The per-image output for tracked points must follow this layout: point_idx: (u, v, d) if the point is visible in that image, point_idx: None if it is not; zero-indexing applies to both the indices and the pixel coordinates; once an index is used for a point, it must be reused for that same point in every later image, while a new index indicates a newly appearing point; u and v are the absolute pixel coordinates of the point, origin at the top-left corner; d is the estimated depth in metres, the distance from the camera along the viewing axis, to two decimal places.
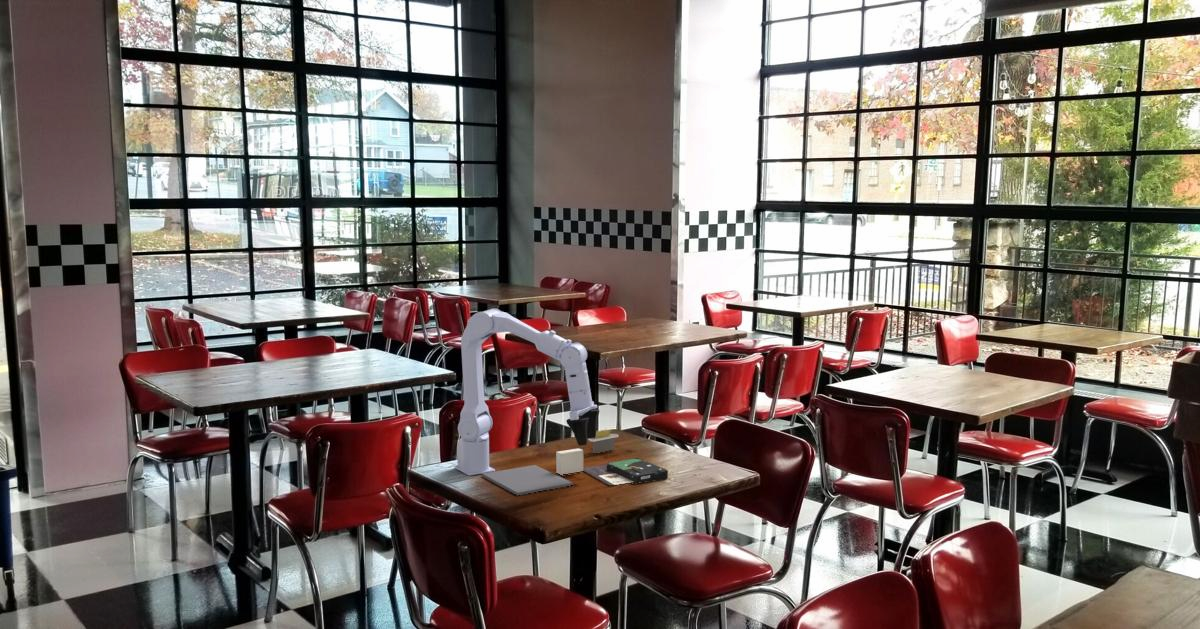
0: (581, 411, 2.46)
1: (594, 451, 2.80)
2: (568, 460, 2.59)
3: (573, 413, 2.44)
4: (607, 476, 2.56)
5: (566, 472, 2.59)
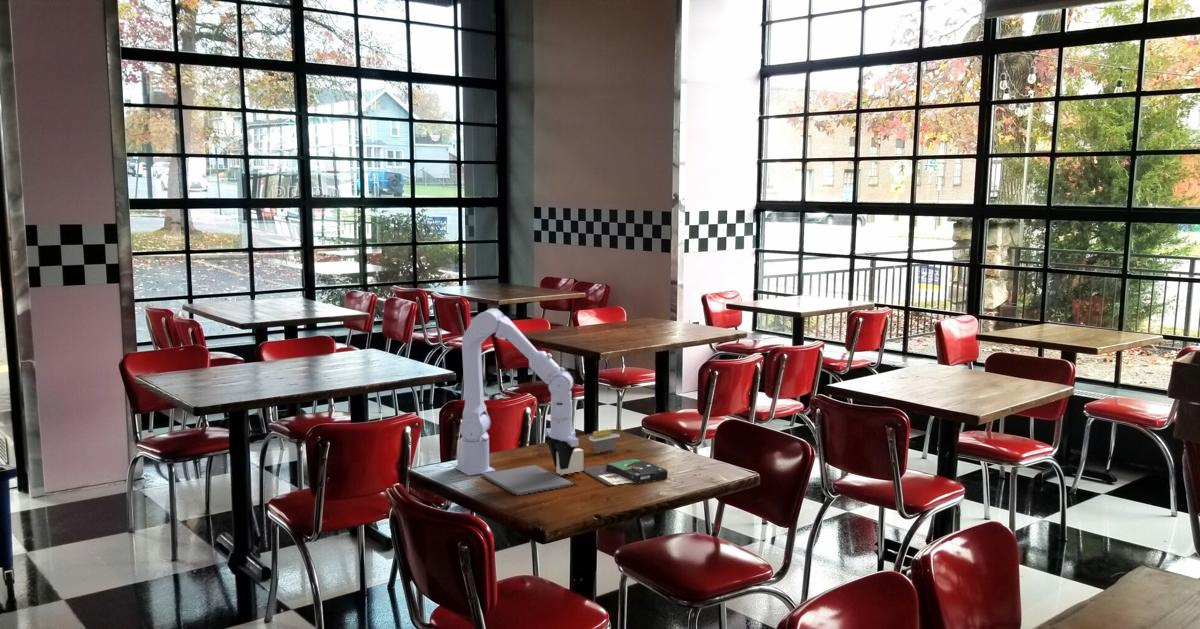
0: None
1: (595, 451, 2.80)
2: None
3: (575, 440, 2.52)
4: (606, 476, 2.56)
5: (566, 472, 2.59)
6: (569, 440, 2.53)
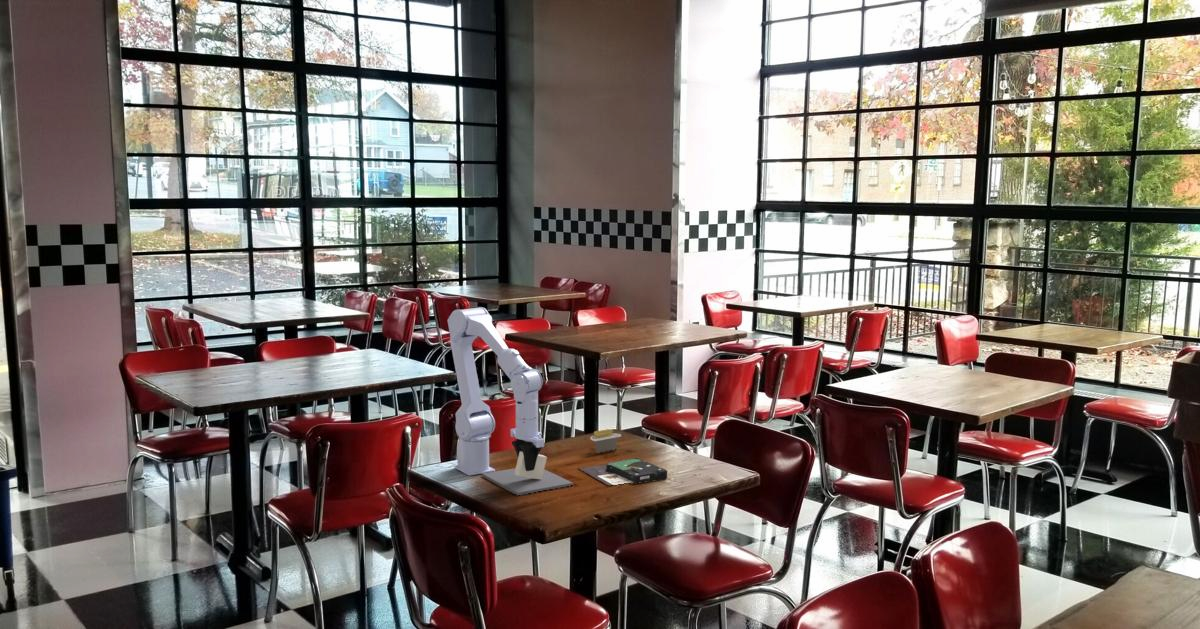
0: (541, 438, 2.46)
1: (596, 451, 2.81)
2: None
3: (541, 440, 2.43)
4: (606, 476, 2.56)
5: (524, 474, 2.48)
6: (534, 441, 2.43)
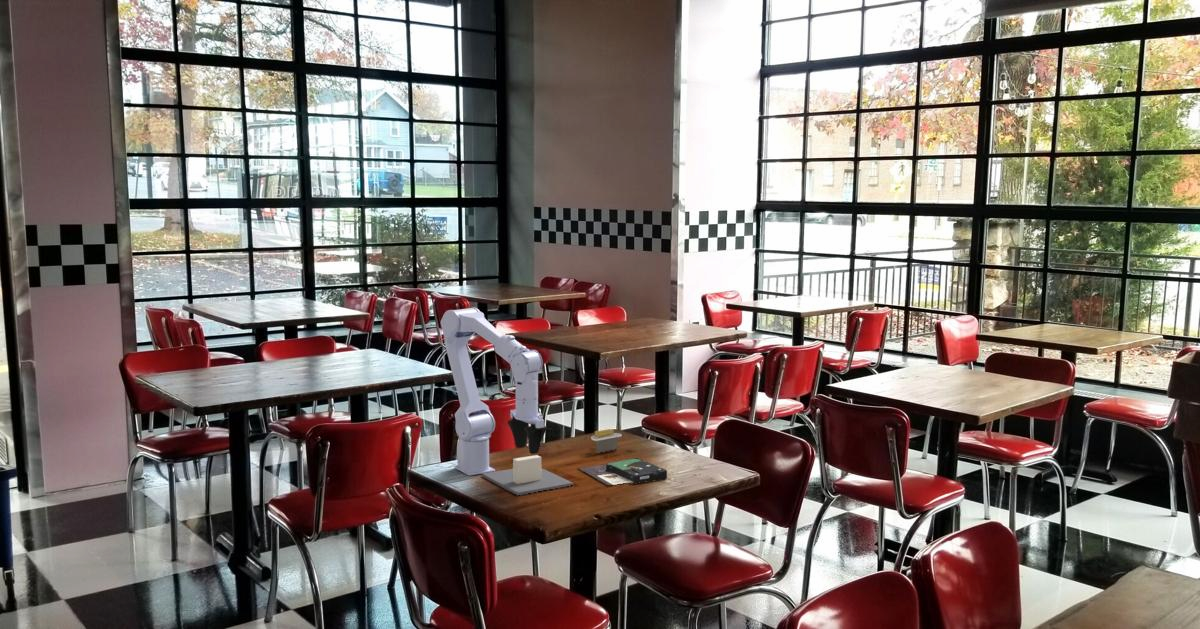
0: (541, 419, 2.45)
1: (597, 450, 2.81)
2: (525, 467, 2.48)
3: (541, 421, 2.42)
4: (606, 476, 2.56)
5: (523, 480, 2.48)
6: (534, 421, 2.43)
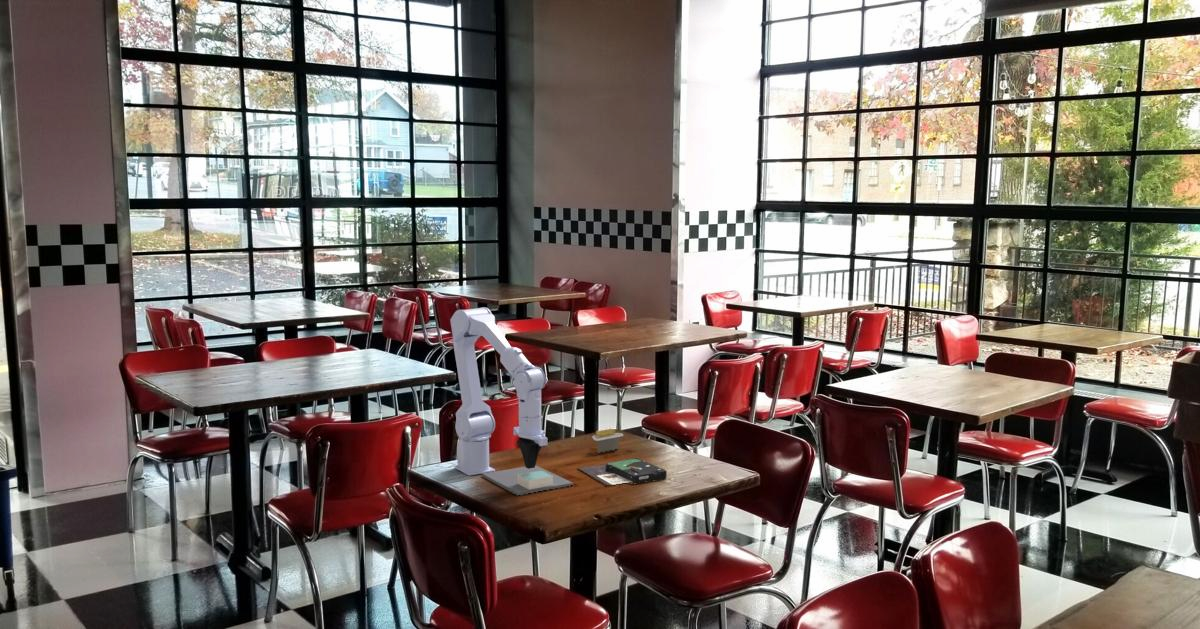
0: (544, 436, 2.44)
1: (598, 450, 2.81)
2: None
3: (544, 439, 2.42)
4: (605, 476, 2.56)
5: None
6: (537, 439, 2.42)
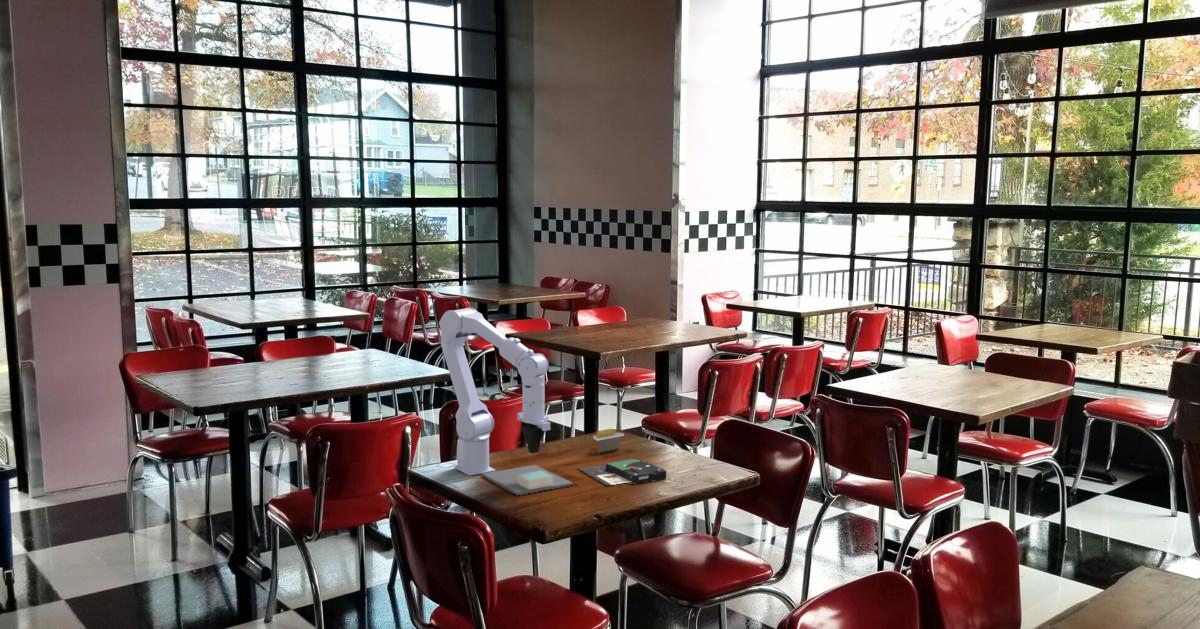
0: (547, 422, 2.49)
1: (599, 450, 2.81)
2: None
3: (547, 424, 2.46)
4: (605, 476, 2.56)
5: None
6: (541, 424, 2.46)
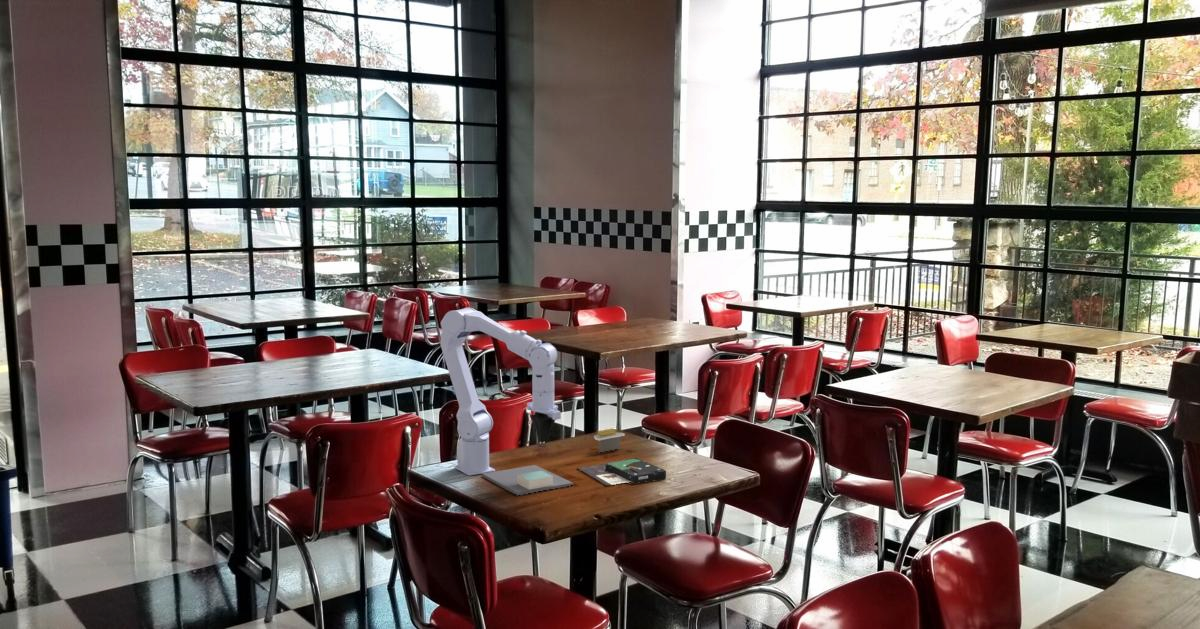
0: None
1: (600, 450, 2.81)
2: None
3: (557, 413, 2.47)
4: (604, 476, 2.56)
5: None
6: (551, 413, 2.48)
